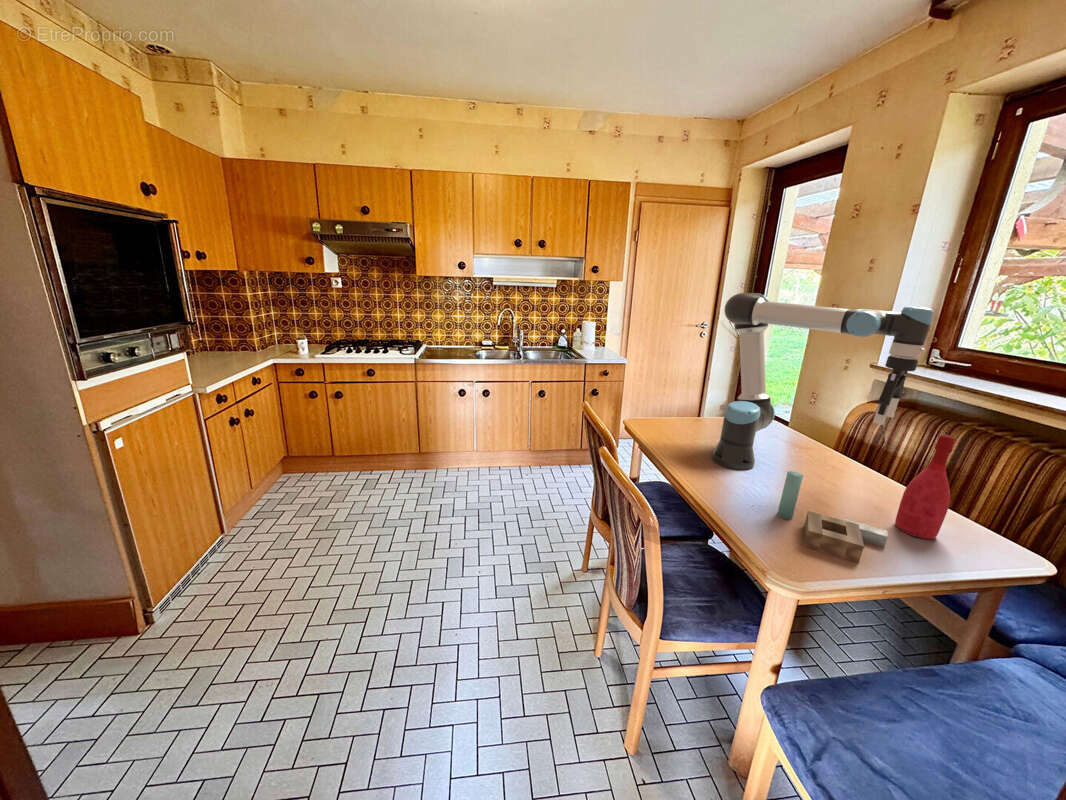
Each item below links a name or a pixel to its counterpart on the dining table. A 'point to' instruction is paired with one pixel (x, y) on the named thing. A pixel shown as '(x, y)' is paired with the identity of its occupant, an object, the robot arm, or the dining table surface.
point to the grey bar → (872, 534)
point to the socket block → (833, 536)
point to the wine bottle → (927, 496)
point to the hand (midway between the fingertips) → (883, 420)
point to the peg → (790, 495)
